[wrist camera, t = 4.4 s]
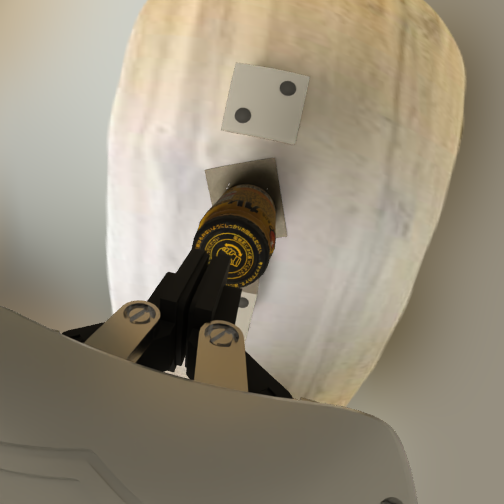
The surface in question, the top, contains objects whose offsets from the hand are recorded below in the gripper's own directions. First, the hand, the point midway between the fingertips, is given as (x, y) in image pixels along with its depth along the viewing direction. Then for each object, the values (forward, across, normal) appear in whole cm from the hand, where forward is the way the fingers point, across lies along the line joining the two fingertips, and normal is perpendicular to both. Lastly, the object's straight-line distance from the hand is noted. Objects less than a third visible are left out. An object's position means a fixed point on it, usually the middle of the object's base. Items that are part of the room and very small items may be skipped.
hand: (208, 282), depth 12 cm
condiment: (+18, 0, +1) cm, 18 cm away
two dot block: (+18, 0, -9) cm, 20 cm away
